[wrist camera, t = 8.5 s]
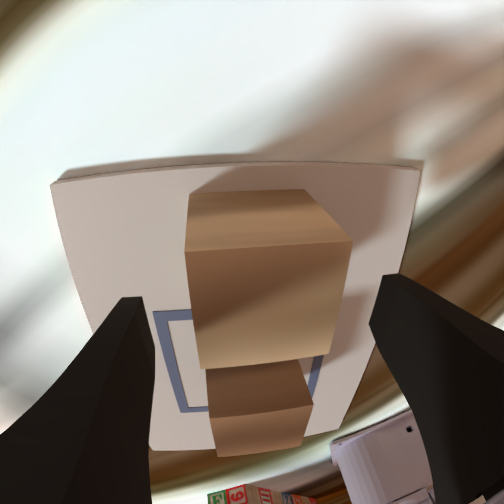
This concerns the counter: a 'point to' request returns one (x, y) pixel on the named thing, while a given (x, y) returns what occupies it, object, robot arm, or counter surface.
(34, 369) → the counter surface
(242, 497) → the stack of blocks
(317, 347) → the maple block
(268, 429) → the walnut block
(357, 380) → the board
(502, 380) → the robot arm
